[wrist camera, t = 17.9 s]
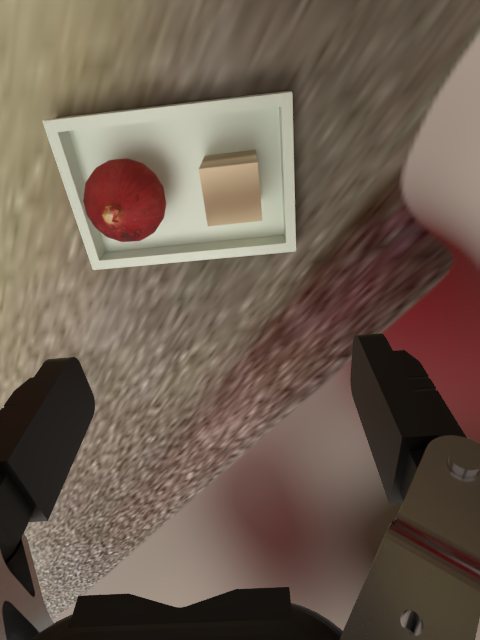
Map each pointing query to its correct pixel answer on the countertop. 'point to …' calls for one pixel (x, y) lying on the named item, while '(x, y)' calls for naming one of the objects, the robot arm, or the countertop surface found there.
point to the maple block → (231, 188)
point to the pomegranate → (124, 200)
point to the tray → (184, 174)
